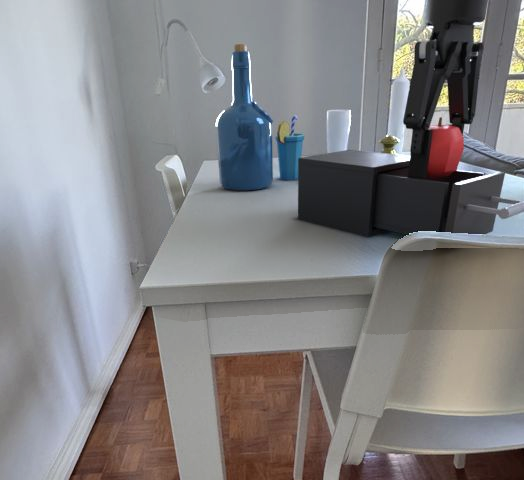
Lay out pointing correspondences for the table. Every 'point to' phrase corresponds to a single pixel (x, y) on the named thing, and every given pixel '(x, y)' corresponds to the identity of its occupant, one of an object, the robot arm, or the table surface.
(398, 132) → the candle
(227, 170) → the wine bottle
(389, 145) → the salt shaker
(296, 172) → the cup
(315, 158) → the cabinet
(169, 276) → the table surface
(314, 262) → the table surface
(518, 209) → the drawer
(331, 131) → the drinking glass
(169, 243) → the table surface
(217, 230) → the table surface
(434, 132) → the apple
